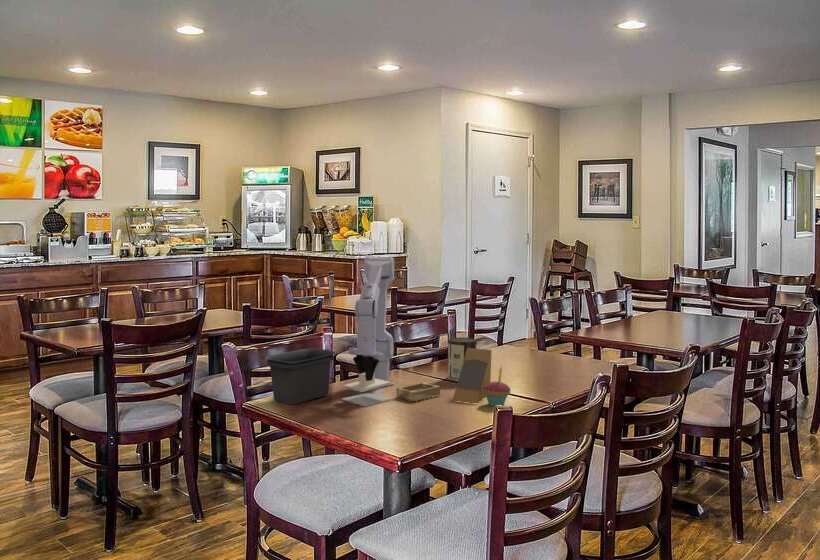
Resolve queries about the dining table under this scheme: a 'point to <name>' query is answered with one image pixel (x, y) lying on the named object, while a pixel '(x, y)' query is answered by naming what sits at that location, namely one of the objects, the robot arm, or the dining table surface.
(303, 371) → the storage bin
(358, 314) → the robot arm
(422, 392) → the box
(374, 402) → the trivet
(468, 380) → the sandwich container
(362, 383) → the lid
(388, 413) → the dining table surface
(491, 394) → the cupcake
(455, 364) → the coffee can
